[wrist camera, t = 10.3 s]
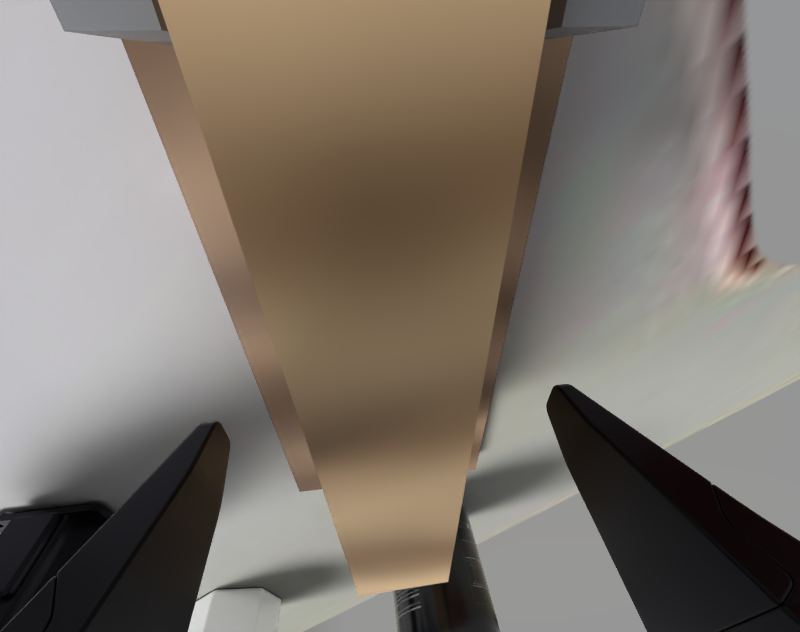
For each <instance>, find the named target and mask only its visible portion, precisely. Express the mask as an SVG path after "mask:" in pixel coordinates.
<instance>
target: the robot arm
mask: <svg viewBox="0 0 800 632" xmlns="http://www.w3.org/2000/svg"><path fill="white" fill-rule="evenodd" d="M546 407H547V413H548V416H549V418H550V421H551V424H552V427H553V429H554V432H555V435H556V438H557V440H558V443H559V446H560V449H561V451H562V454H563V457H564V459H565V462H566V464H567V466H568V469H569V471H570V473H571V475H572V477H573V479H574V481H575V483H576V485H577V487H578V490H579V492H580V494H581V496H582V498H583V500H584V502H585V504H586V506H587V508H588V510H589V512H590V514H591V516H592V518H593V521H594V523H595V524H596V527H597V528H598V531H599V533H600V535H601V537H602V539H603V541H604V543H605V545H606V547H607V549H608V551H609V553H610V556H611V558H612V560H613V562H614V564H615V566H616V568H617V570H618V572H619V574H620V576H621V578H622V580H623V582H624V585H625V587H626V589H627V591H628V593H629V595H630V597H631V599H632V601H633V603H634V605H635V607H636V609H637V611H638V614H639V616H640V618H641V620H642V621H643V624H644V626H645V628H646V630H647V632H800V541H799V540H797V539H796V538H794V537H792V536H791V535H789V534H788V533H786V532H785V531H783V530H781V529H780V528H778V527H777V526H775V525H773V524H772V523H770V522H769V521H767V520H766V519H764V518H762V517H761V516H760V515H758V514H757V513H755V512H754V511H752V510H751V509H749V508H748V507H746V506H745V505H743V504H742V503H740V502H739V501H737V500H736V499H734V498H733V497H731V496H730V495H729V494H727V493H726V492H724V491H723V490H721V489H720V488H719V487H717V486H716V485H712V484H711V482H710V481H708V480H707V479H705V478H704V477H702V476H701V475H700V474H698V473H697V472H695V471H694V470H692V469H691V468H690V467H688V466H687V465H685V464H684V463H682V462H681V461H680V460H678V459H677V458H675V457H674V456H672V455H671V454H669V453H668V452H667V451H665V450H664V449H662V448H661V447H659V446H658V445H657V444H655V443H654V442H652V441H651V440H649V439H648V438H647V437H645V436H644V435H642V434H641V433H639V432H638V431H636V430H635V429H634V428H632V427H631V426H629V425H628V424H626V423H625V422H624V421H622V420H621V419H619V418H618V417H616V416H615V415H613V414H612V413H611V412H609V411H608V410H606V409H605V408H603V407H602V406H601V405H599V404H598V403H596V402H595V401H593V400H592V399H590V398H589V397H588V396H586V395H585V394H583V393H582V392H580V391H579V390H578V389H576V388H575V387H573V386H572V385H569V384H562V385H555V386H554V387H553V388H552V391H551V394H550V396H549V399H548V401H547V406H546ZM229 451H230V441H229V438H228V436H227V434H226V432H225V430H224V429H223V427H222V425H221V423H220V422H218V421H213V422H204V423H201V424H200V425H198V426H197V427H196V428H195V430H194V431H193V432H192V433H191V434H190V435H189V436H188V437H187V438H186V439H185V440H184V441H183V442H182V443H181V444H180V445H179V446H178V447H177V448H176V449H175V450H174V451H173V452H172V454H171V455H170V456H169V457H168V458H167V459H166V460H165V461H164V462H163V463H162V464H161V465H160V466H159V467H158V468H157V469H156V470H155V471H154V472H153V473H152V474H151V475H150V476H149V478H148V479H147V480H146V481H145V482H144V483H143V484H142V485H141V486H140V487H139V488H138V489H137V490H136V491H135V492H134V493H133V494H132V495H131V496H130V497H129V498H128V499H127V500H126V502H125V503H124V504H123V505H122V506H121V507H120V508H119V509H118V510H117V511H116V512H115V513H114V514H112V513H111V512H110V511H109V510H107V509H106V508H105V507H104V506H102V505H99V504H86V505H78V506H70V507H62V508H54V509H46V510H38V511H30V512H22V513H14V514H6V515H0V533H1V534H0V632H188V629H189V625H190V621H191V618H192V614H193V610H194V606H195V603H196V599H197V595H198V591H199V588H200V584H201V580H202V576H203V573H204V569H205V565H206V561H207V558H208V554H209V550H210V546H211V543H212V539H213V535H214V531H215V528H216V524H217V520H218V516H219V512H220V508H221V502H222V497H223V490H224V484H225V477H226V471H227V464H228V458H229Z"/></svg>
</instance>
